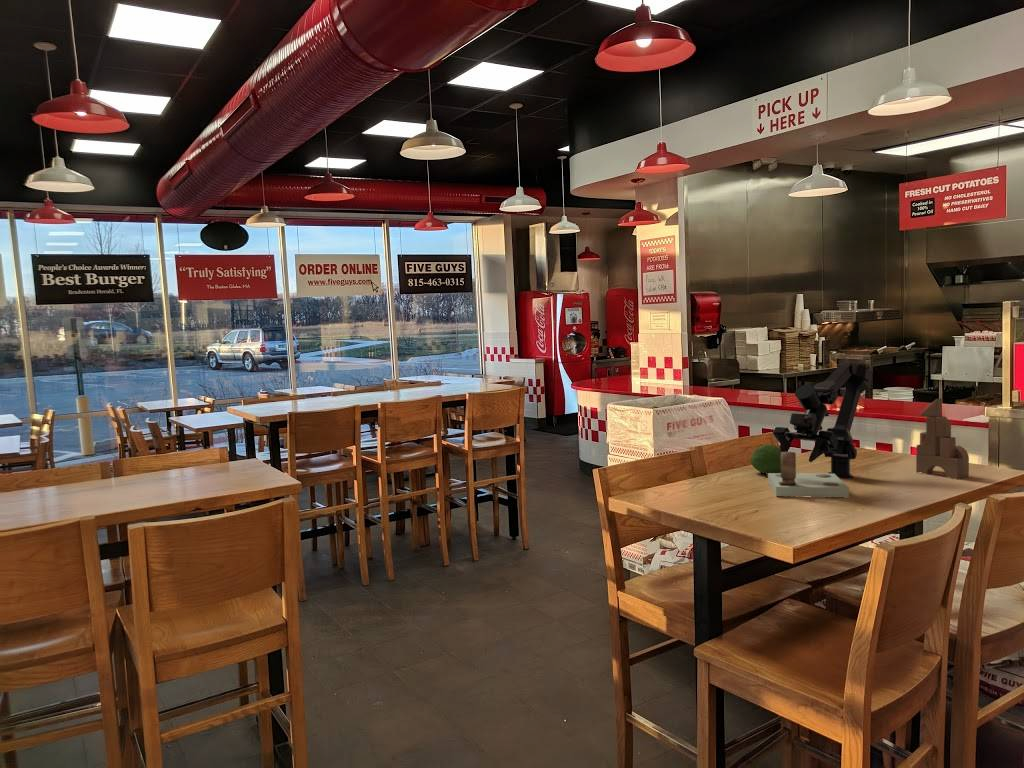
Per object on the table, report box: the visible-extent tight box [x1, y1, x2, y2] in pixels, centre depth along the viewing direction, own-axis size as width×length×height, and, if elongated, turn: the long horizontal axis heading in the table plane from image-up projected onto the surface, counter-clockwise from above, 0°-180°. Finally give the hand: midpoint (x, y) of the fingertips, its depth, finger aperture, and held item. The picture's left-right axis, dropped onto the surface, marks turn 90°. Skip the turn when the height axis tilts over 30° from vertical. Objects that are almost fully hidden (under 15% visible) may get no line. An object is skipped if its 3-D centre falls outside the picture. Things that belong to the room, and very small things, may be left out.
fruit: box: [750, 444, 781, 474], centre depth 246 cm, size 15×10×10 cm, turn 35°
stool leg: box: [781, 451, 797, 486], centre depth 217 cm, size 4×4×12 cm
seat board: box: [767, 472, 850, 499], centre depth 222 cm, size 20×20×3 cm
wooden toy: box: [915, 398, 970, 480], centre depth 235 cm, size 16×7×25 cm, turn 27°
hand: (795, 459), depth 220 cm, fingers open, 9 cm apart
